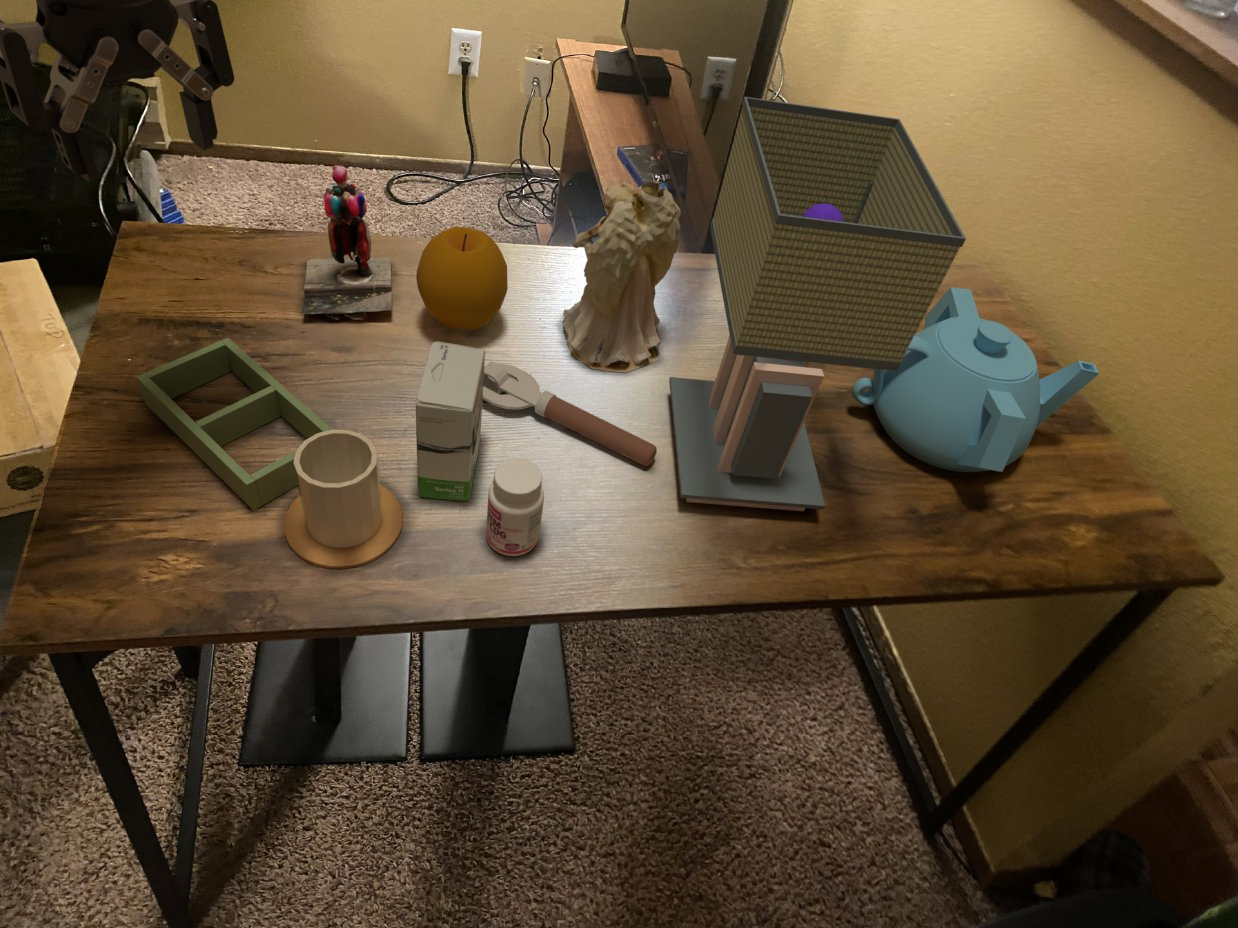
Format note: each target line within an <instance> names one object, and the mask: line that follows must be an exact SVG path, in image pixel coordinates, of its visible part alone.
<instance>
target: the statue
mask: <svg viewBox="0 0 1238 928" xmlns="http://www.w3.org/2000/svg"><path fill="white" fill-rule="evenodd" d="M331 178H332V180H333V182H334V184H332V185H331V187H325V192H324V195H323V201H324V202H323V203H324V204H323V205H324V212H325V216H326V217H327V218H329V222H328V224H327V235H328V241H329V248H330V253H331V257H332V258H307V259H306V260H307V261H306V270H305V280H304V286H303V292H304V293H303V294H304V299H303V304H302V311H301V314H302V315H307V316H311V315H312V316H316V315H317V314H320V315H325V316H326V317H327V318H329V319H330V318H331V319H333V320H336V321H337V320H339V317H340V316H339V315H338V314H342V315H344V317H347V318H350V319H351V320H361V321H364V320H366V319H367V318H368V317H372V316H373V315H372V312H382V311H392V309H393V308H392V305H393V304H392V296H393V294H392V266H391V265H392V261H391V260H392V259H391V257H372V255H371V254H372V235H371V231H370V228H369V225H368V223H367V222H366V221H365V220H364V217H365V215H366V213H367V212H368V208H367V203H366V198H365V195H364V193H363V191H362V189H361V187H360V186H356V184H354V183H350V184H349V183H348V182H347V181H348V180H349V175H348V169H347V167H345V166H343V165H339V164H337V165H336V164H334V165H333V166H332V175H331ZM352 254H353V255H352ZM345 256H348V258H345Z"/></svg>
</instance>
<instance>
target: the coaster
mask: <svg viewBox="0 0 1238 928" xmlns="http://www.w3.org/2000/svg"><path fill="white" fill-rule="evenodd" d="M380 488H381V499H382V523H381V526H380V528H379V530H378V531H377V532H376V534H375V535H374V536H373V537H371V538H370V539H369V540H367V541H366V542H364V543H362V544H360V545H357V546H353V547H348V548H334V547H329V546H325V545H323V544H321V543H319V542H317V541H316V540H315V539H314V538H313V537H312V536H311V535H310V533H309V532H308V529H307V526H306V522H305V519H304V514H303V508H302V503H301V498H300V494H299V495H298V496H297V497H296V498H295V499H294V500H293V501H292V502H291V504H290V506H289V507H288V509H287V511H286V513H285V516H284V522H283V532H284V537H285V539H286V542H287V544H288V546H289V547H290V549H291V550H292V551H293V552H294V553H295V554H296V556H298V557H299V558H300V559H302V560H304V561H305V562H307V563H309V564H312V565H315V566H317V567H320V568H326V569H334V570H335V569H338V570H339V569H340V570H341V569H352V568H356V567H360V566H364V565H366V564H369V563H371V562H373V561H375V560H378V559H379V558H380V557H382V556H383V555H385V554H386V553H387V552H388V551H390V549H391V548H392V547H393V546H394V545H395V544H396V542H397V541H398V539H399V537H400V535H401V533H402V531H403V530H402V529H403V524H404V513H403V512H404V511H403V508H402V506H401V503H400V501H399V500H398V498H397V497H396V496H395V494H394V492H392V491H390V489H389V488H387V487H386V486H384V485H382V484H380Z"/></svg>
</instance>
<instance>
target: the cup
mask: <svg viewBox="0 0 1238 928" xmlns="http://www.w3.org/2000/svg"><path fill="white" fill-rule="evenodd" d="M379 466H380V465H379V454H378V451H377V449H376V447H375V444H374V442H372V441H371V440H370V439H369V438H368V437H366V436H365V435H364V434H363V433H359V432H356V431H353V430H350V429H333V430H329V431H324V432H320V433H317V434H315V435H313V436H312V437H310V438H308V439H306V438H305V439H304V440H303V442H302V443H301V444H300V445H299V446H298V448H297V449H296V453H295V458H294V468H295V473H296V478H297V483H298V485H297V487H298V488H297V489H298V492H299V495H300V498H301V503H302V508H303V514H304V519H305V522H306V526H307V529H308V532H309V533H310V535H311V536H312V537H313V538H314V539H315V540H316V541H317V542H319V543H321V544H323V545H325V546H329V547H334V548H348V547H353V546H357V545H360V544H362V543H364V542H366V541H367V540H369V539H370V538H371V537H373V536H374V535H375V534H376V532H377V531H378V530H379V528H380V526H381V523H382V499H381V488H380V485H381V477H380V467H379Z"/></svg>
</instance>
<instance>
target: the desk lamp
mask: <svg viewBox="0 0 1238 928" xmlns="http://www.w3.org/2000/svg"><path fill="white" fill-rule="evenodd" d="M741 106H742V107H741V110H740V115H739V118H738V122H737V126H736V129H735V134H734V138H733V142H732V145H731V149H730V153H729V156H728V160H727V165H726V167H725V172H724V175H723V180H722V183H721V187H720V190H719V194H718V195H719V196H718V199H717V203H716V207H715V210H714V213H713V218H711V222H710V225H709V229H710V235H711V240H712V245H713V251H714V256H715V262H716V268H717V274H718V278H719V279H718V280H719V284H720V288H721V289H720V290H721V295H722V300H723V306H724V313H725V318H726V323H727V327H728V333H729V336H728V339H727V342H726V345H725V348H724V353H723V355H722V358H721V361H720V364H719V368H718V371H717V374H716V378H715V380H707V379H698V378H697V379H696V378H686V377H676V376H669V392H670V401H671V402H670V403H671V411H672V412H671V413H672V422H673V433H674V440H675V441H674V443H675V452H676V465H677V474H678V483H679V494H680V499H686V500H685V501H686V503H694V504H697V503H698V504H706V505H707V504H708V505H721V506H733V507H747V508H759V509H771V510H772V509H773V510H783V511H795V512H805V510H806V509H813V510H814V509H816V510H824V509H825V507H826V504H825V500H824V495H823V492H822V488H821V484H820V480H819V477H818V476H819V475H818V472H817V468H816V465H815V460H814V456H813V452H812V448H811V444H810V440H809V439H810V438H809V436H808V431H807V428H806V424H805V421H806V419H807V417H808V414H809V412H810V410H811V407H812V405H813V402H814V400H815V398H816V396H817V394H818V391H819V389H820V387H821V385H822V382H823V380H824V378H825V375H824V372H823V368H816V367H815V368H814V367H808V366H809V364H810V363H814V364H824V365H834V366H843V367H852V368H863V369H872V370H874V369H881V370H891V371H898V369H899V367H900V365H901V360H902V358H903V357H904V355H905V353H906V351H907V349H908V347H909V345H910V343H911V341H912V339H913V337H914V335H915V334H917V333H918V329H919V327H920V325H921V324H922V321H923V320H924V319H925V316H926V315H927V312H928V310H929V308H930V306H931V304H932V303H933V302H934V301H933V300H934V299H935V296H936V295H937V293H938V291H939V290H940V287H941V285H942V283H943V282H944V279H945V277H946V275H947V274H948V272H949V270H950V268H951V266H952V264H953V262H954V260H955V258H956V256H957V254H958V253H959V251H960V249H961V248H962V247H963V246H964V244H965V242H966V240H967V237H966V236H965V234H964V232H963V230H962V229H961V227H960V225H959V223H958V222H957V220H956V218H955V216H954V214H953V212H952V210H951V209H950V207H949V205H948V203H947V202H946V200H945V198H944V196H943V194H942V193H941V191H940V189H939V187H938V185H937V184H936V182H935V180H934V178H933V176H932V174H931V173H930V171H929V169H928V167H927V166H926V164H925V162H924V160H923V158H922V156H921V154H920V153H919V151H918V149H917V147H916V146H915V143H914V142H913V141H912V138H911V136H910V135H909V133H908V131H907V129H906V127H905V125H904V124H903V122H902V120H901V119H900V118H896V117H889V116H882V115H875V114H867V113H861V112H856V111H855V112H854V111H846V110H839V109H832V108H826V107H819V106H812V105H806V104H799V103H791V102H784V101H777V100H770V99H764V98H757V97H750V96H743V99H742V103H741Z"/></svg>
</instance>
